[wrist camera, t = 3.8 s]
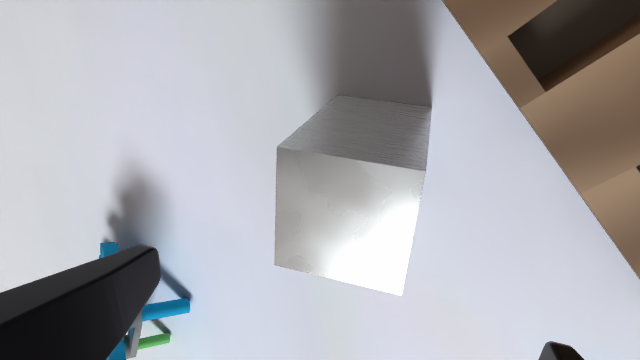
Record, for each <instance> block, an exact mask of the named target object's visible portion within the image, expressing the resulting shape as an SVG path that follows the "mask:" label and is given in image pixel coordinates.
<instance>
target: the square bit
mask: <svg viewBox="0 0 640 360" xmlns="http://www.w3.org/2000/svg"><path fill="white" fill-rule="evenodd" d="M431 111H432V107H427V106H419V105H412V104H404V103H396V102H388V101H381V100H373V99H365V98H358V97H350V96H342V95H337V96H336V97H335V98H333V99H332V100H331V101H330V102H329V103H328V104H326V105H325V106H324V107H323V108H322V109H321V110H319V111H318V112H317V113H316V114H315V115H314V116H312V117H311V118H310V119H309V120H308V121H306V122H305V123H304V124H303V125H302V126H301V127H299V128H298V129H297V130H296V131H295V132H294V133H292V134H291V135H290V136H289V137H288V138H287V139H285V140H284V141H283V142H282V143H281V144H280V145H278V146H277V167H276V216H275V265H276V266H280V267H284V268H289V269H293V270H297V271H301V272H305V273H310V274H314V275H318V276H322V277H326V278H330V279H335V280H339V281H343V282H347V283H351V284H356V285H360V286H364V287H368V288H372V289H377V290H381V291H385V292H389V293H393V294H398V295H401V294H402V289H403V284H404V279H405V274H406V269H407V264H408V259H409V254H410V249H411V244H412V239H413V234H414V229H415V224H416V219H417V214H418V209H419V204H420V199H421V194H422V189H423V184H424V179H425V173H426V165H427V154H428V144H429V133H430V122H431Z"/></svg>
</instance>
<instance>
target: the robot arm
mask: <svg viewBox="0 0 640 360" xmlns="http://www.w3.org/2000/svg"><path fill="white" fill-rule="evenodd" d="M160 278H161V268H160V261H159V255H158V251H157V249H156V248H154V247H151V246H147V245H137V246H134V247H131V248H128V249H126V250H123V251H120V252H117V253H114V254H111V255H108V256H105V257H102V258H100V259H97V260H94V261H91V262H88V263H85V264H82V265H79V266H76V267H74V268H71V269H68V270H65V271H62V272H59V273H56V274H53V275H50V276H48V277H45V278H42V279H39V280H36V281H33V282H30V283H27V284H24V285H22V286H19V287H16V288H13V289H10V290H7V291H4V292H1V293H0V360H106V359H107V358H108V357H109V355H110V354H111V353H112V352H113V350H114V349H115V348H116V347H117V345H118V344H119V343H120V341H121V340H122V339H123V337H124V336H125V335H126V333H127V332H128V330H129V329H130V327H131V326H132V324H133V323H134V321H135V319H136V318H137V316H138V315H139V313H140V312H141V310H142V309H143V307H144V305H145V304H146V302H147V301H148V299H149V298H150V296H151V295H152V293H153V291H154V290H155V288H156V287H157V285H158V283H159V281H160ZM539 360H584V359H583V358H582V357H581V356H580V355H579V354H578V353H577V352H576V350H575V349H573V348H572V347H571V346H568V345H565V344H561V343H557V342H552V341H550V342H547V343H546V344H545V346H544V348H543V350H542V353H541V355H540V357H539Z"/></svg>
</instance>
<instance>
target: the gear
mask: <svg viewBox="0 0 640 360" xmlns="http://www.w3.org/2000/svg"><path fill="white" fill-rule="evenodd" d="M117 252H119V249H118V244H115V242H109V243H100V253H101V255H99V259H100V258H102V257H105V256H108V255H111V254H114V253H117ZM189 312H190V302H189V299H188V298H184V299H178V300H172V301H166V302H160V303H154V304H148V305H144V307H143V309H142V310H141V312H140V313H139V315H138V316H137V318H136V319H135V321H134V323H133V324H132V326H131V327H130V329H129V331H128V335H125V336H124V337H123V339H122V340H121V341H120V343H119V344H118V345H117V347H116V348H115V349H114V350H113V352H112V353H111V354H110V355H109V357H108V358H107V359H106V360H126V359H128V358H133V357H136V354H137V350H139V349H143V348H148V347H152V346H157V345H161V344H166V343H169V342H170V336H169V333H165V334H160V335H155V336H150V337H146V338H141V339H139V338H140V333H141V328H142V321H147V320H152V319H158V318H163V317H168V316H174V315H179V314H184V313H189Z"/></svg>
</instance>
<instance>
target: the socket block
mask: <svg viewBox="0 0 640 360" xmlns="http://www.w3.org/2000/svg"><path fill="white" fill-rule="evenodd" d="M442 1H443V2H444V4H445V5H446V7H447V8H448V9H449V11H450V12H451V14H452V15H453V17H454V18H455V19H456V21H457V22H458V24H459V25H460V26H461V28H462V29H463V31H464V32H465V33H466V35H467V36H468V38H469V39H470V41H471V42H472V43H473V45H474V46H475V48H476V49H477V50H478V52H479V53H480V55H481V56H482V57H483V59H484V60H485V62H486V63H487V64H488V66H489V67H490V69H491V70H492V72H493V73H494V74H495V76H496V77H497V79H498V80H499V81H500V83H501V84H502V86H503V87H504V88H505V90H506V91H507V93H508V94H509V96H510V97H511V98H512V100H513V101H514V103H515V104H516V105H517V107H518V108H519V110H520V111H521V112H522V114H523V115H524V117H525V118H526V120H527V121H528V122H529V124H530V125H531V127H532V128H533V129H534V131H535V132H536V134H537V135H538V136H539V138H540V139H541V141H542V142H543V144H544V145H545V146H546V148H547V149H548V151H549V152H550V153H551V155H552V156H553V158H554V159H555V160H556V162H557V163H558V165H559V166H560V168H561V169H562V170H563V172H564V173H565V175H566V176H567V177H568V179H569V180H570V182H571V183H572V184H573V186H574V187H575V189H576V190H577V191H578V193H579V194H580V196H581V197H582V199H583V200H584V201H585V203H586V204H587V206H588V207H589V208H590V210H591V211H592V213H593V214H594V215H595V217H596V218H597V220H598V221H599V223H600V224H601V225H602V227H603V228H604V230H605V231H606V232H607V234H608V235H609V237H610V238H611V239H612V241H613V242H614V244H615V245H616V247H617V248H618V249H619V251H620V252H621V254H622V255H623V256H624V258H625V259H626V261H627V262H628V263H629V265H630V266H631V268H632V269H633V271H634V272H635V273H636V275H637V276H638V278H639V279H640V0H442Z"/></svg>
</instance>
